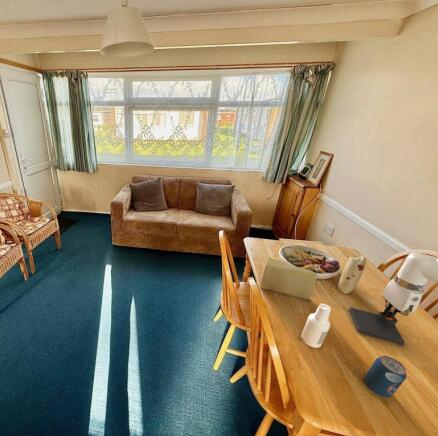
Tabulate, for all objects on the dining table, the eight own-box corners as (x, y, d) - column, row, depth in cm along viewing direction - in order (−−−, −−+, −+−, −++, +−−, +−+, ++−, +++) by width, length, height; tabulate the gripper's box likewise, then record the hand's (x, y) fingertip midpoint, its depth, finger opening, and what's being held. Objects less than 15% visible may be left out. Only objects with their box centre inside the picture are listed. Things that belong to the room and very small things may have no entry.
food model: (351, 298, 111) (367, 264, 103) (334, 291, 116) (349, 258, 107) (354, 288, 117) (370, 256, 109) (338, 282, 122) (352, 250, 113)
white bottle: (324, 349, 87) (341, 315, 80) (305, 346, 88) (319, 313, 81) (316, 334, 93) (330, 301, 86) (297, 331, 94) (310, 299, 87)
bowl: (275, 270, 131) (278, 259, 128) (279, 246, 154) (282, 236, 151) (340, 289, 117) (346, 277, 113) (334, 260, 140) (338, 249, 136)
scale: (390, 320, 99) (393, 314, 98) (405, 346, 88) (410, 340, 87) (347, 308, 105) (350, 303, 104) (357, 332, 94) (360, 326, 93)
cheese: (309, 293, 115) (319, 269, 108) (310, 305, 107) (320, 280, 101) (261, 278, 125) (267, 255, 119) (259, 288, 118) (265, 264, 111)
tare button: (389, 318, 98) (391, 315, 97) (392, 322, 96) (394, 320, 95) (380, 315, 99) (382, 313, 98) (383, 320, 97) (385, 317, 96)
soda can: (389, 404, 71) (407, 381, 66) (360, 385, 76) (375, 362, 71) (393, 389, 75) (410, 366, 70) (365, 372, 80) (380, 349, 75)
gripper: (439, 297, 82) (413, 332, 90) (401, 271, 95) (382, 303, 103) (416, 296, 83) (393, 330, 90) (382, 270, 96) (364, 302, 104)
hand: (387, 316), depth 97 cm, fingers closed
